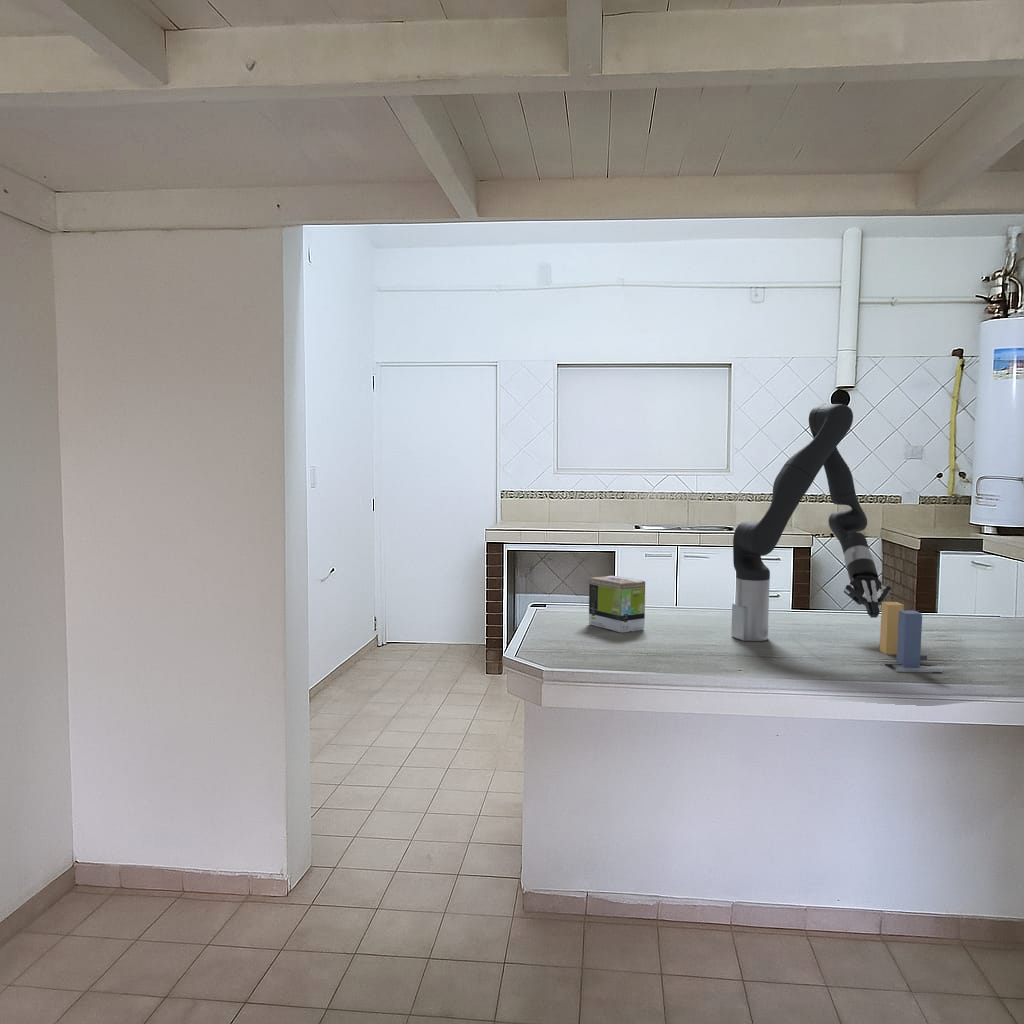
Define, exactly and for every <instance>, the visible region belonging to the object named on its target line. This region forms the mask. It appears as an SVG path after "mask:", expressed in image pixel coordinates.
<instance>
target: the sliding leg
mask: <svg viewBox="0 0 1024 1024" xmlns="http://www.w3.org/2000/svg"><path fill="white" fill-rule="evenodd" d="M880 608H881V610H880V612H881V613H880V614H881V615H880V633H879V634H880V635H879V636H880V637H879V652H881V653H882V654H884V655H892V656H893V655H896V656H897V640H898V617H899V610H901V611H905V610H904V608H905V607H904V604H902V603H900V602H899V601H898V602H897V601H883V602H882V604H881V607H880Z"/></svg>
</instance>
